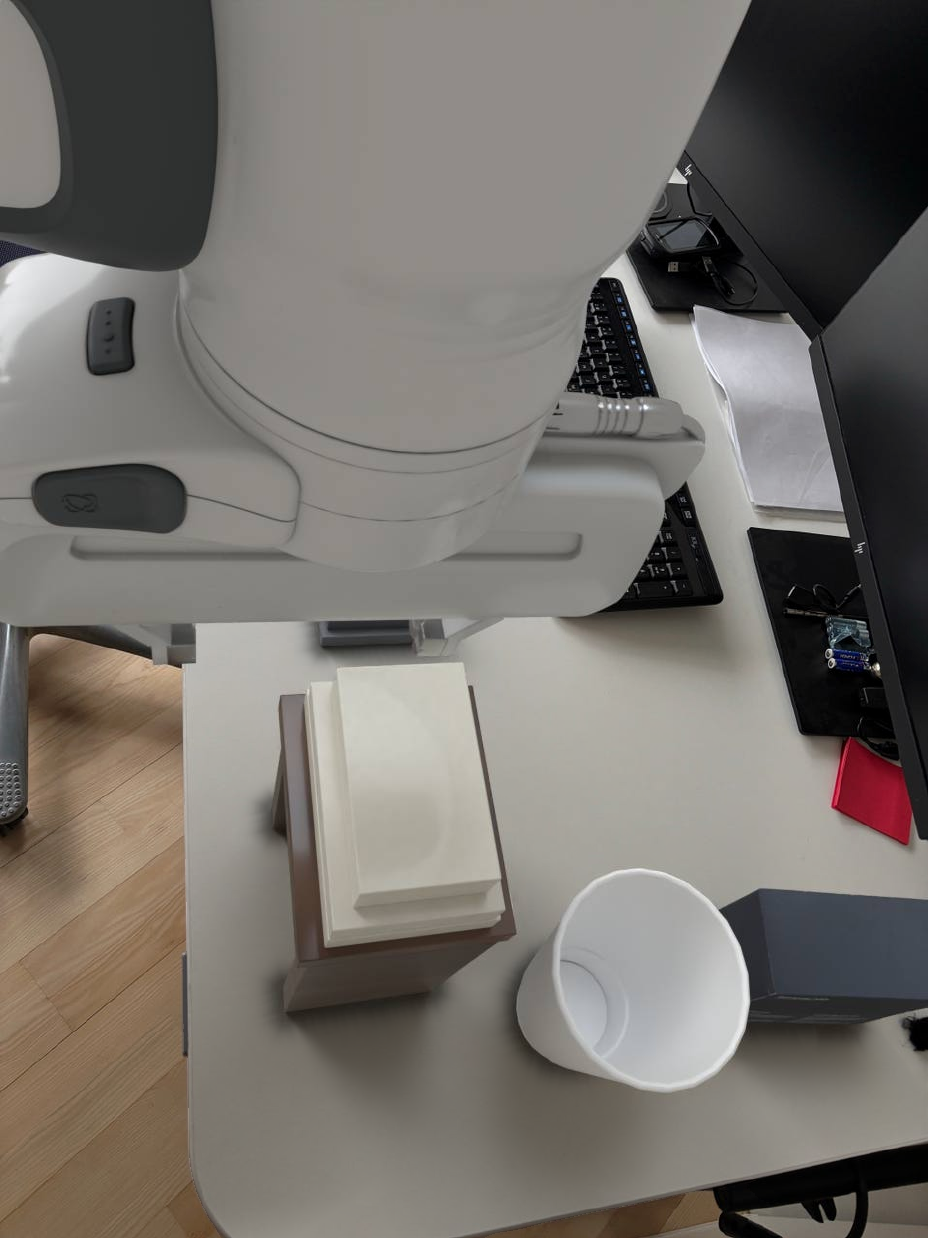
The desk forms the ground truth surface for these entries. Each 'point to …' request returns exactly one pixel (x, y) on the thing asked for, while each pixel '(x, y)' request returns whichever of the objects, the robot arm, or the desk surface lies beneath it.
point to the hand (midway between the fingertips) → (306, 643)
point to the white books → (332, 858)
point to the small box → (831, 955)
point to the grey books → (364, 632)
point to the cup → (638, 984)
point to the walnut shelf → (315, 967)
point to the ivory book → (412, 784)
